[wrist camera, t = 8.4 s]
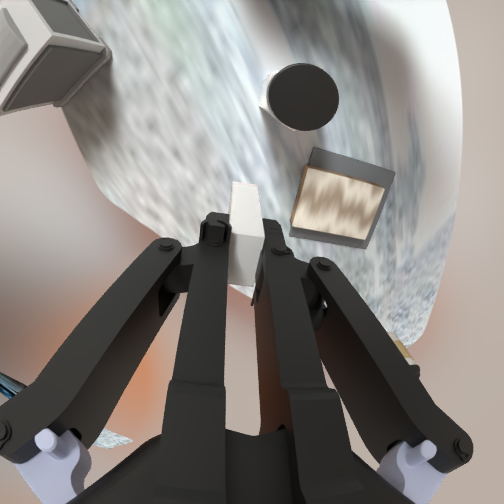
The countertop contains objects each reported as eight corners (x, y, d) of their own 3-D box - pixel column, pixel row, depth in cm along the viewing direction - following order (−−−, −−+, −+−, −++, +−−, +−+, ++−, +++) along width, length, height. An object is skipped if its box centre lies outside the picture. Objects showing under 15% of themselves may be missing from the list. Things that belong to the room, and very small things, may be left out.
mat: (313, 147, 41) (313, 147, 41) (394, 172, 44) (395, 172, 43) (288, 234, 50) (289, 235, 49) (365, 248, 52) (366, 249, 52)
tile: (308, 168, 40) (384, 189, 42) (305, 164, 43) (378, 184, 45) (292, 226, 46) (365, 239, 48) (289, 219, 48) (360, 233, 50)
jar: (307, 128, 40) (331, 141, 30) (255, 119, 39) (262, 128, 29) (317, 75, 35) (346, 70, 25) (264, 64, 34) (275, 53, 24)
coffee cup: (362, 345, 68) (380, 390, 55) (390, 322, 64) (413, 367, 51) (380, 354, 72) (397, 395, 59) (406, 333, 68) (427, 374, 55)
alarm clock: (22, 50, 26) (-46, 54, 10) (69, -3, 23) (6, -23, 7) (61, 109, 34) (-11, 129, 19) (114, 54, 31) (48, 42, 15)
